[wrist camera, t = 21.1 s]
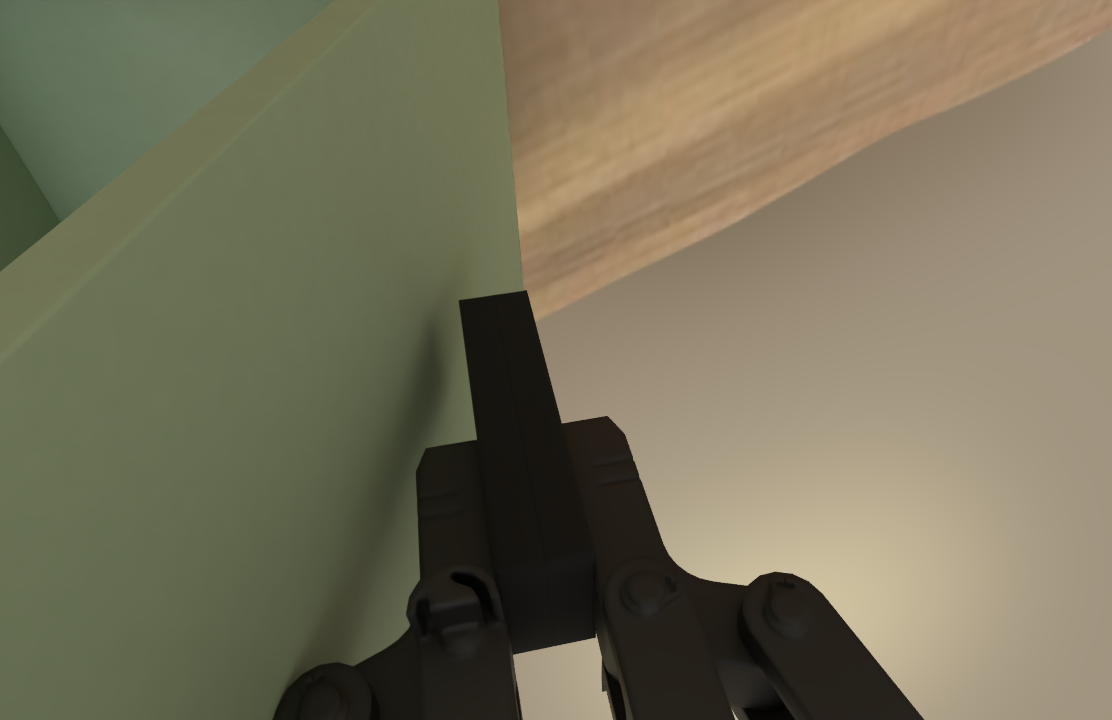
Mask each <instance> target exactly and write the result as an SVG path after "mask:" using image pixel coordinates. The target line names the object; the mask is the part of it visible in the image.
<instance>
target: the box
mask: <svg viewBox="0 0 1112 720" xmlns="http://www.w3.org/2000/svg"><path fill="white" fill-rule="evenodd" d="M333 1H334V0H0V271H2V270H3V269H4V268H5V267H7V266H8V265H9V264H10V263H12V262H13V261H14V260H15V259H16V258H18V257H19V256H20V255H21V254H23V253H24V252H25V251H26V250H28V249H29V248H30V247H31V246H32V245H34V244H35V243H36V242H37V241H39V240H40V239H41V238H42V237H44V236H45V235H46V234H47V233H48V232H50V231H51V230H52V229H53V228H55V227H56V226H57V225H58V224H60V223H61V222H62V221H63V220H64V219H66V218H67V217H68V216H69V215H71V214H72V213H73V212H74V211H76V210H77V209H78V208H79V207H80V206H82V205H83V204H84V203H85V202H87V201H88V200H89V199H90V198H92V197H93V196H94V195H95V194H96V193H98V192H99V191H100V190H101V189H103V188H104V187H105V186H106V185H108V184H109V183H110V182H111V181H112V180H114V179H115V178H116V177H117V176H119V175H120V174H121V173H122V172H124V171H125V170H126V169H127V168H128V167H130V166H131V165H132V164H133V163H135V162H136V161H137V160H138V159H140V158H141V157H142V156H143V155H144V154H146V153H147V152H148V151H149V150H151V149H152V148H153V147H154V146H156V145H157V144H158V143H159V142H160V141H162V140H163V139H164V138H165V137H167V136H168V135H169V134H170V133H172V132H173V131H174V130H175V129H176V128H178V127H179V126H180V125H181V124H183V123H184V122H185V121H186V120H188V119H189V118H190V117H191V116H192V115H194V114H195V113H196V112H197V111H199V110H200V109H201V108H202V107H204V106H205V105H206V104H207V103H208V102H210V101H211V100H212V99H213V98H215V97H216V96H217V95H218V94H220V93H221V92H222V91H223V90H224V89H226V88H227V87H228V86H229V85H231V84H232V83H233V82H234V81H236V80H237V79H238V78H239V77H240V76H242V75H243V74H244V73H245V72H247V71H248V70H249V69H250V68H252V67H253V66H254V65H255V64H256V63H258V62H259V61H260V60H261V59H263V58H264V57H265V56H266V55H268V54H269V53H270V52H271V51H272V50H274V49H275V48H276V47H277V46H279V45H280V44H281V43H282V42H284V41H285V40H286V39H287V38H288V37H290V36H291V35H292V34H293V33H295V32H296V31H297V30H298V29H300V28H301V27H302V26H303V25H304V24H306V23H307V22H308V21H309V20H311V19H312V18H313V17H314V16H316V15H317V14H318V13H319V12H320V11H322V10H323V9H324V8H325V7H327V6H328V5H329V4H330V3H332V2H333Z"/></svg>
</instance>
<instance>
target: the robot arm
mask: <svg viewBox="0 0 1112 720" xmlns="http://www.w3.org/2000/svg"><path fill="white" fill-rule="evenodd" d="M459 308H460V315H461V323H462V330H463V338H464V345H465V353H466V360H467V368H468V375H469V383H470V391H471V398H472V406H473V413H474V421H475V428H476V436H477V440H471V441H465V442H459V443H453V444H447V445H441V446H435V447H429V448H426V449H425V451H424V453H423V456H422V458H421V460H420V463H419V465H418V467H417V470H416V493H417V516H418V541H419V565H420V580H419V581H418V583H417V585H416V586H415V588H414V589H413V591H412V593H411V594H410V596H409V599H408V605H407V610H406V616H407V618H408V621H409V623H410V627H409V628H408V630H407V631H406V632H405V633H404V634H403V635H402V636H401V637H400V638H399V639H398V640H397V641H395V642H394V643H393V644H391V645H390V646H388V647H387V648H385V649H384V650H382V651H380V652H378V653H376V654H375V655H373V656H371V657H369V658H367V659H365V660H364V661H362V662H360V663H358V664H356V665H355V666H351V665H347V664H343V663H339V662H334V663H328V664H322V665H318V666H316V667H314V668H313V669H311V670H309V671H307V672H305V673H303V674H302V675H301V676H300V677H299V678H298V679H297V680H296V681H295V682H294V683H293V684H292V685H291V686H290V687H289V688H288V689H287V690H286V692H285V694H284V696H283V698H282V700H281V702H280V704H279V705H278V707H277V710H276V713H275V716H274V719H273V720H523V719H522V712H521V705H520V698H519V692H518V687H517V681H516V675H515V668H514V660H513V655H514V654H519V653H523V652H528V651H532V650H538V649H542V648H548V647H552V646H557V645H562V644H567V643H572V642H576V641H581V640H586V639H591V638H595V637H596V634H597V638H598V642H599V646H600V650H601V655H602V691H607V695H608V699H609V703H610V708H611V712H612V716H613V720H735V718H734V715H733V712H734V714H735V715H736V717H737V718H738V720H924V719H923V718H922V716H921V715H920V714H919V713H918V711H917V710H916V709H915V708H914V707H913V705H912V704H911V703H910V702H909V700H908V699H907V698H906V697H905V695H904V694H903V693H902V692H901V690H900V689H899V688H898V687H897V685H896V684H895V683H894V682H893V681H892V679H891V678H890V677H889V676H888V674H887V673H886V672H885V671H884V669H883V668H882V667H881V666H880V665H879V663H878V662H877V661H876V659H874V657H873V656H872V655H871V653H870V652H869V651H868V650H867V648H866V647H865V646H864V645H863V643H862V642H861V641H860V640H859V638H858V637H857V636H856V635H855V633H854V632H853V631H852V630H851V629H850V628H849V626H848V625H847V624H846V622H845V621H844V620H843V619H842V617H841V616H840V615H839V614H838V612H837V611H836V610H835V609H834V607H833V606H832V605H831V604H830V603H829V601H828V600H827V599H826V598H825V596H824V595H823V594H822V593H821V592H820V591H819V590H818V589H816V588H815V587H814V586H813V585H812V584H811V583H810V582H809V581H806V580H804V579H802V578H800V577H798V576H796V575H793V574H789V573H781V572H772V573H769V574H764V575H760V576H759V577H757V578H756V579H755V580H754V581H753V582H751V583H750V584H749V585H748V586H744V585H737V584H729V583H721V582H713V581H708V580H704V579H700V578H698V577H696V576H694V575H691V574H689V573H687V572H686V571H685V570H683V569H682V568H681V567H679V566H678V565H677V564H676V563H675V562H674V561H673V560H672V558H671V557H670V556H669V554H668V552H667V550H666V548H665V546H664V544H663V542H662V539H661V536H660V533H659V530H658V527H657V524H656V522H655V519H654V516H653V513H652V510H651V508H650V505H649V502H648V499H647V496H646V493H645V490H644V487H643V485H642V482H641V480H640V478H639V473H638V470H637V468H636V465H635V462H634V461H633V456H632V454H631V450H630V448H629V445H628V442H627V439H626V436H625V434H624V433H623V432H622V431H621V430H620V429H619V428H618V427H617V425H616V424H615V423H614V422H613V421H612V420H611V419H610V418H609V417H608V416H604V417H598V418H593V419H586V420H581V421H575V422H569V423H563V424H562V423H561V419H560V415H559V411H558V408H557V404H556V400H555V396H554V392H553V388H552V385H551V381H550V377H549V373H548V369H547V366H546V362H545V358H544V354H543V351H542V347H541V343H540V339H539V335H538V331H537V328H536V324H535V320H534V316H533V312H532V308H531V305H530V301H529V297H528V293H527V290H525V291H518V292H511V293H504V294H498V295H491V296H484V297H477V298H470V299H463V300H459ZM731 709H732V710H733V712H732V710H731Z"/></svg>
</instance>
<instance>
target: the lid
mask: <svg viewBox="0 0 1112 720" xmlns="http://www.w3.org/2000/svg"><path fill="white" fill-rule="evenodd" d="M518 291H524V288H523V277H522V265H521V254H520V243H519V231H518V220H517V209H516V197H515V186H514V175H513V164H512V152H511V141H510V130H509V118H508V107H507V96H506V84H505V73H504V62H503V51H502V39H501V28H500V17H499V5H498V0H334V1H333V2H332V3H330V4H329V5H328V6H327V7H325V8H324V9H323V10H322V11H320V12H319V13H318V14H317V15H316V16H314V17H313V18H312V19H311V20H309V21H308V22H307V23H306V24H304V25H303V26H302V27H301V28H300V29H298V30H297V31H296V32H295V33H293V34H292V35H291V36H290V37H288V38H287V39H286V40H285V41H284V42H282V43H281V44H280V45H279V46H277V47H276V48H275V49H274V50H272V51H271V52H270V53H269V54H268V55H266V56H265V57H264V58H263V59H261V60H260V61H259V62H258V63H256V64H255V65H254V66H253V67H252V68H250V69H249V70H248V71H247V72H245V73H244V74H243V75H242V76H240V77H239V78H238V79H237V80H236V81H234V82H233V83H232V84H231V85H229V86H228V87H227V88H226V89H224V90H223V91H222V92H221V93H220V94H218V95H217V96H216V97H215V98H213V99H212V100H211V101H210V102H208V103H207V104H206V105H205V106H204V107H202V108H201V109H200V110H199V111H197V112H196V113H195V114H194V115H192V116H191V117H190V118H189V119H188V120H186V121H185V122H184V123H183V124H181V125H180V126H179V127H178V128H176V129H175V130H174V131H173V132H172V133H170V134H169V135H168V136H167V137H165V138H164V139H163V140H162V141H160V142H159V143H158V144H157V145H156V146H154V147H153V148H152V149H151V150H149V151H148V152H147V153H146V154H144V155H143V156H142V157H141V158H140V159H138V160H137V161H136V162H135V163H133V164H132V165H131V166H130V167H128V168H127V169H126V170H125V171H124V172H122V173H121V174H120V175H119V176H117V177H116V178H115V179H114V180H112V181H111V182H110V183H109V184H108V185H106V186H105V187H104V188H103V189H101V190H100V191H99V192H98V193H96V194H95V195H94V196H93V197H92V198H90V199H89V200H88V201H87V202H85V203H84V204H83V205H82V206H80V207H79V208H78V209H77V210H76V211H74V212H73V213H72V214H71V215H69V216H68V217H67V218H66V219H64V220H63V221H62V222H61V223H60V224H58V225H57V226H56V227H55V228H53V229H52V230H51V231H50V232H48V233H47V234H46V235H45V236H44V237H42V238H41V239H40V240H39V241H37V242H36V243H35V244H34V245H32V246H31V247H30V248H29V249H28V250H26V251H25V252H24V253H23V254H21V255H20V256H19V257H18V258H16V259H15V260H14V261H13V262H12V263H10V264H9V265H8V266H7V267H5V268H4V269H3V270H2V271H0V720H273V719H274V716H275V713H276V710H277V707H278V705H279V704H280V702H281V700H282V698H283V696H284V694H285V692H286V690H287V689H288V688H289V687H290V686H291V685H292V684H293V683H294V682H295V681H296V680H297V679H298V678H299V677H300V676H301V675H302V674H303V673H305V672H307V671H309V670H311V669H313V668H314V667H316V666H318V665H322V664H328V663H334V662H339V663H343V664H347V665H351V666H355V665H356V664H358V663H360V662H362V661H364V660H365V659H367V658H369V657H371V656H373V655H375V654H376V653H378V652H380V651H382V650H384V649H385V648H387V647H388V646H390V645H391V644H393V643H394V642H395V641H397V640H398V639H399V638H400V637H401V636H402V635H403V634H404V633H405V632H406V631H407V630H408V628H409V627H410V623H409V621H408V618H407V616H406V610H407V605H408V599H409V596H410V594H411V593H412V591H413V589H414V588H415V586H416V585H417V583H418V581H419V580H420V565H419V541H418V516H417V493H416V470H417V467H418V465H419V463H420V460H421V458H422V456H423V453H424V451H425V449H426V448H429V447H435V446H441V445H447V444H453V443H459V442H465V441H471V440H477V436H476V428H475V421H474V413H473V406H472V398H471V391H470V383H469V375H468V368H467V360H466V353H465V345H464V338H463V330H462V323H461V315H460V308H459V300H463V299H470V298H477V297H484V296H491V295H498V294H504V293H511V292H518Z"/></svg>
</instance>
